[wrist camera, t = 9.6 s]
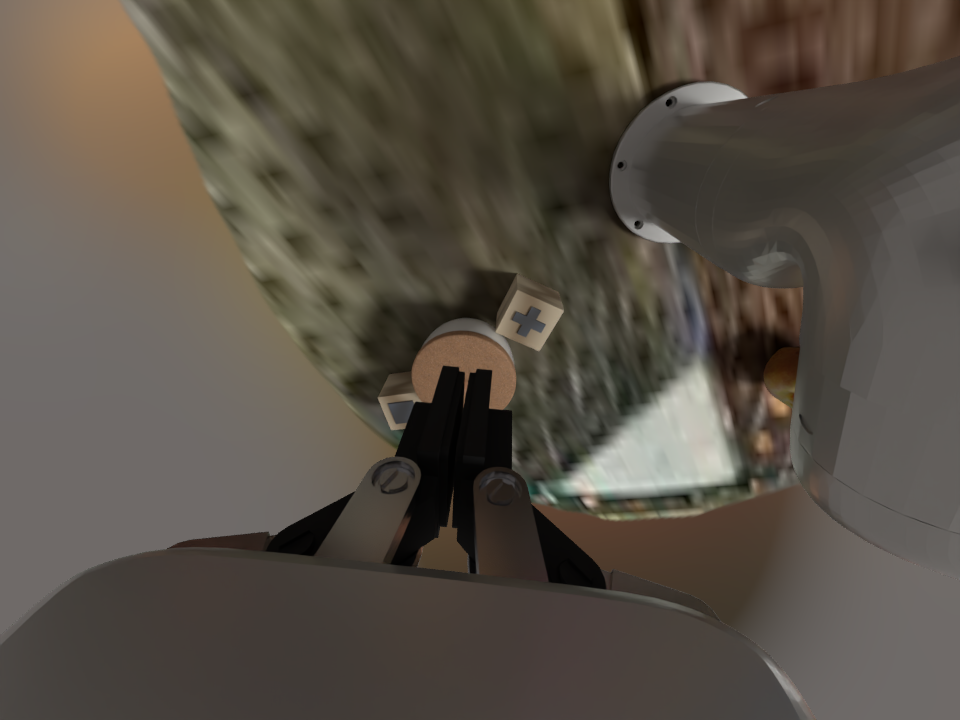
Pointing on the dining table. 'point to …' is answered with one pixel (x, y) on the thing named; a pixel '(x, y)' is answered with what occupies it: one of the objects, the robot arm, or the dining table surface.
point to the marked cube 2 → (528, 312)
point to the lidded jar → (465, 359)
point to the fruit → (782, 374)
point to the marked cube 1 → (398, 399)
